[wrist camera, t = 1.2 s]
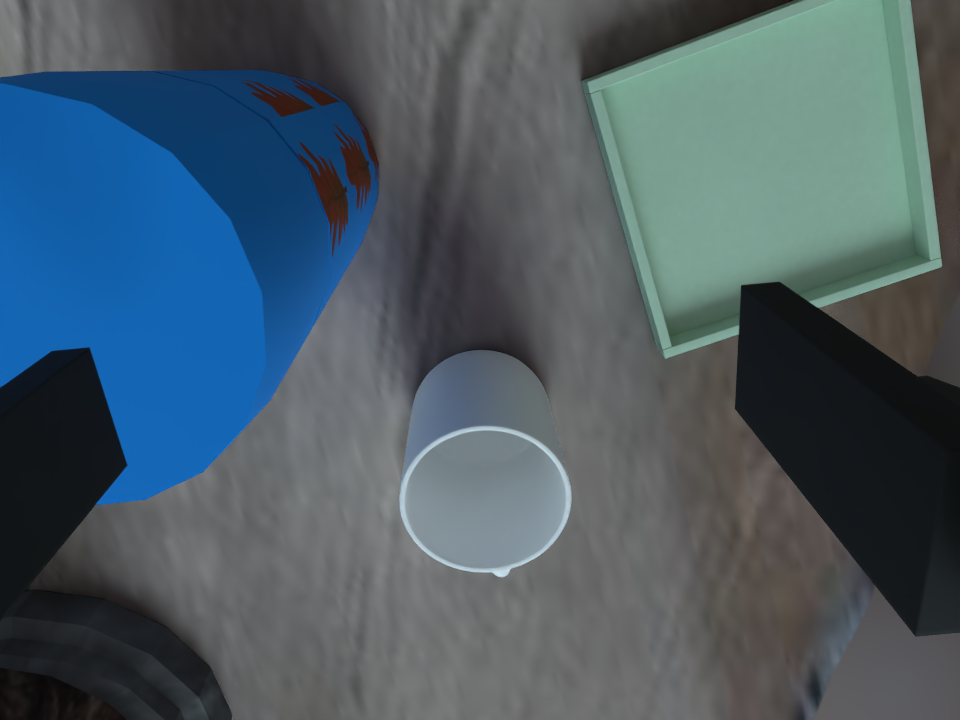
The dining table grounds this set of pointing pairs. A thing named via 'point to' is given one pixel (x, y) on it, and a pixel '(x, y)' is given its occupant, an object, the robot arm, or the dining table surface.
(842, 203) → the tray
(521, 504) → the mug
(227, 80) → the thermos
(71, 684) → the bucket
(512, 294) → the dining table surface
